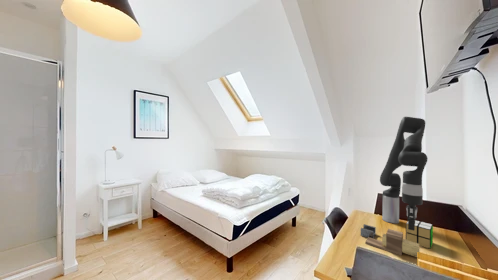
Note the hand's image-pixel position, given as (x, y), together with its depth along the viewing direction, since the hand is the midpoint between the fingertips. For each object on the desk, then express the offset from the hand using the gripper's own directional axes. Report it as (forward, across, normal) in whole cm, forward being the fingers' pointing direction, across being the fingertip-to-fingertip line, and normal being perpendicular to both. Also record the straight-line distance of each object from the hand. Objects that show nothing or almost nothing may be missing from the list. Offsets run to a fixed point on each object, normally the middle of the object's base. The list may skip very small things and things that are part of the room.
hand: (411, 226), depth 90 cm
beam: (+14, 0, +11) cm, 17 cm away
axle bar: (+13, 0, +4) cm, 13 cm away
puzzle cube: (+14, +20, -3) cm, 24 cm away
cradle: (+14, +9, +20) cm, 25 cm away
